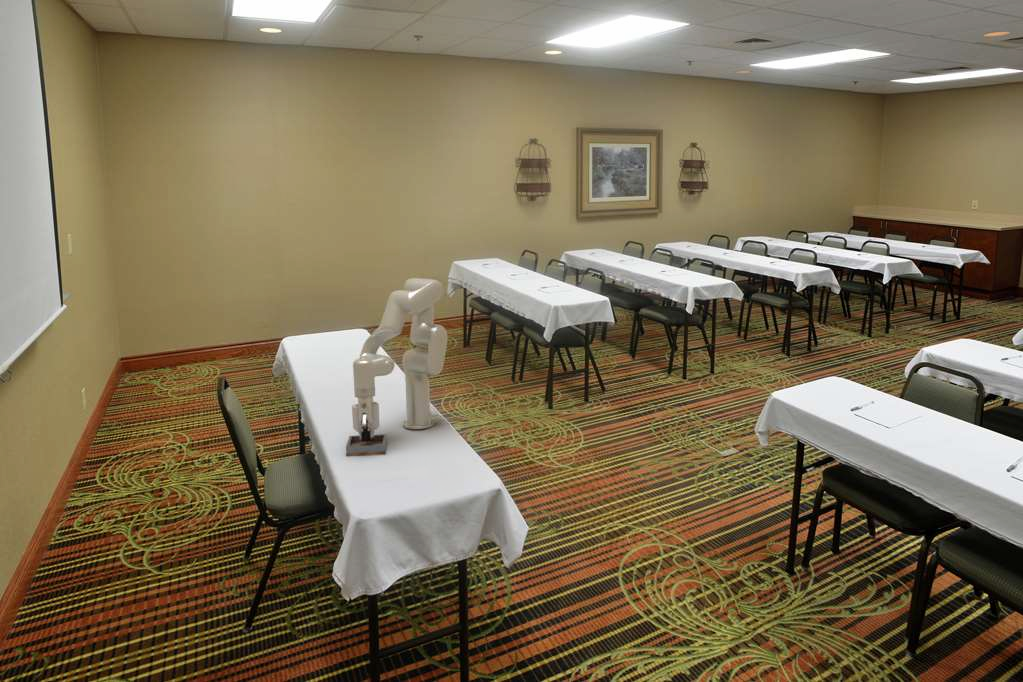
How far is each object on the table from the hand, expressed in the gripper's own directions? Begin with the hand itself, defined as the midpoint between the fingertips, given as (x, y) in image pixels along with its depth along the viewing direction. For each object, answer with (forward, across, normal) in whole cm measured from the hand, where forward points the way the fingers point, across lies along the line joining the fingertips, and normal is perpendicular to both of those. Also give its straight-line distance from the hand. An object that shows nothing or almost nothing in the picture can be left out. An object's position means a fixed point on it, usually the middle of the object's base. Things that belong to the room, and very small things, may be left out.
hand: (367, 437), depth 248 cm
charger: (+2, 0, 0) cm, 2 cm away
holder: (+5, 0, 0) cm, 5 cm away
